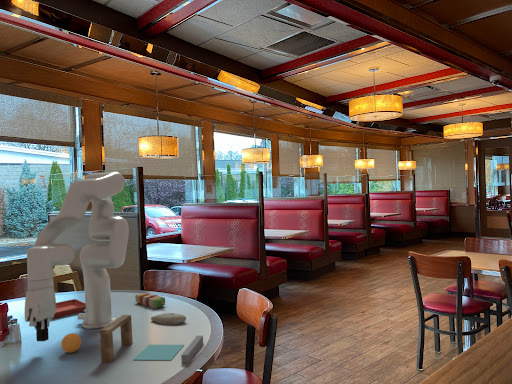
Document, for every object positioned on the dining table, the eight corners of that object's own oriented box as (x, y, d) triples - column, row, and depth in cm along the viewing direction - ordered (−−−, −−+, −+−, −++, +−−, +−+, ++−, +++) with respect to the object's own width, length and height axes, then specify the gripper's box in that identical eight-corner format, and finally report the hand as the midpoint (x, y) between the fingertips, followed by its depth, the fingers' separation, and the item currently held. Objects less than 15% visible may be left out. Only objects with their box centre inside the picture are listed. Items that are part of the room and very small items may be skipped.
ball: (57, 355, 133) (56, 337, 133) (68, 348, 139) (67, 330, 139) (75, 355, 132) (74, 337, 132) (85, 348, 138) (84, 330, 138)
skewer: (133, 304, 192) (132, 293, 192) (145, 301, 197) (145, 290, 197) (158, 311, 178) (157, 300, 178) (171, 308, 182) (170, 296, 182)
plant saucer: (33, 314, 185) (33, 306, 185) (75, 305, 197) (75, 298, 197) (45, 322, 171) (44, 314, 171) (89, 312, 183) (89, 304, 183)
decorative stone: (155, 319, 167) (155, 311, 167) (190, 321, 163) (189, 312, 163) (147, 324, 161) (146, 315, 161) (183, 326, 157) (182, 317, 157)
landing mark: (133, 360, 126) (133, 359, 126) (149, 345, 138) (149, 344, 138) (171, 360, 124) (171, 359, 124) (183, 345, 136) (183, 344, 136)
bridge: (101, 362, 126) (99, 330, 126) (124, 343, 141) (122, 314, 141) (110, 362, 126) (108, 330, 126) (132, 343, 141) (131, 314, 140)
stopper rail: (181, 363, 122) (181, 355, 122) (197, 343, 138) (197, 335, 138) (188, 363, 122) (187, 355, 122) (203, 343, 137) (202, 335, 137)
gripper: (45, 280, 145) (46, 333, 144) (14, 289, 130) (15, 348, 129) (65, 279, 144) (66, 333, 143) (35, 288, 129) (37, 348, 128)
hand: (42, 340), depth 136 cm, fingers closed
